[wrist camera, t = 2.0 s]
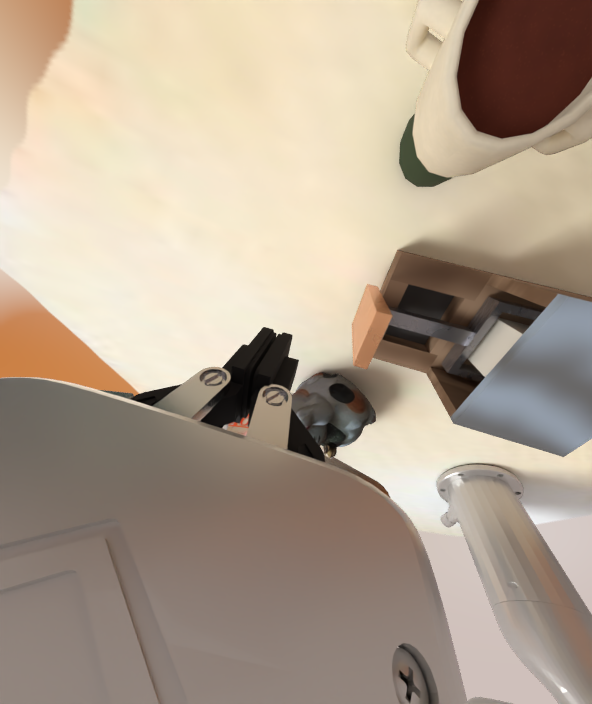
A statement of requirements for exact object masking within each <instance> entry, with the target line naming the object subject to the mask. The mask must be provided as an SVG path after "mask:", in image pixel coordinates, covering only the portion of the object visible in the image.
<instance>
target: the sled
mask: <svg viewBox="0 0 592 704" xmlns="http://www.w3.org/2000/svg"><path fill="white" fill-rule="evenodd" d="M543 311H544V310H540V309H536V308H532V307H528V306H524V305H520V304H517V303H513V302H509V301H505V300H501V299H497V298H493V297H489V296H488V297H487V299H486V300H485V301H484V303H483V304H482V306H481V307H480V309H479V310H478V311H477V313H476V314H475V316H474V317H473V319H472V320H471V321H470V323H469V324H468V326H467V327H466V326H462V325H458V324H454V323H451V322H447V321H443V320H439V319H436V318H432V317H428V316H424V315H421V314H417V313H413V312H409V311H406V310H402V309H398V308H394V307H391V306H387V304H386V302H385V300H384V298H383V296H382V294H381V292H380V290H379V288H378V287H376V286H373V285H369V284H367V286H366V288H365V291H364V294H363V296H362V299H361V302H360V304H359V307H358V310H357V312H356V315H355V318H354V320H353V323H352V343H353V365H354V366H357V367H361V368H364V369H367V368H368V366H369V364H370V362H371V360H372V358H373V356H374V354H375V352H376V349H377V347H378V345H379V343H380V341H381V339H382V337H383V335H384V333H385V331H386V329H387V326H388V325H391V326H395V327H398V328H402V329H406V330H409V331H413V332H417V333H420V334H424V335H428V336H431V337H435V338H439V339H442V340H446V341H450V342H453V343H455V344H454V346H453V347H452V349H451V350H450V351H449V353H448V354H447V356H446V357H445V359H444V360H443V361H442V363H441V364H442V366H443V367H444V368H445V370H446V371H447V373H450V374H454V375H457V376H461V377H464V378H468V379H471V380H475V381H478V382H482V380H483V379H484V378H485V377H484V376H483V375H482V374H481V372H480V371H479V370H478V369H477V368H476V367H474V366H471V365H467V364H463V363H464V362H465V360H466V359H467V358H468V356H469V355H470V354H471V353H472V351H473V350H474V349H475V347H476V346H477V345H478V343H479V342H480V341H481V340H482V338H483V337H484V336H485V334H486V333H487V332H488V330H489V329H490V328H491V327H492V325H493V324H494V323H495V321H496V320H497V319H498V317H499V316H500V315H501V314H502V312H505V313H509V314H512V315H516V316H520V317H524V318H528V319H532V320H536V319H537V318H538V316H539V315H540V314H541V313H542V312H543Z"/></svg>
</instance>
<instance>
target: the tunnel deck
mask: <svg viewBox="0 0 592 704" xmlns="http://www.w3.org/2000/svg"><path fill="white" fill-rule="evenodd" d="M380 292H381V294H382V296H383V298H384V300H385V302H386V304H387V306H391V307H394V308H398V309H402V310H406V311H409V312H413V313H417V314H421V315H424V316H428V317H432V318H436V319H439V320H443V321H447V322H451V323H454V324H458V325H462V326H466V327H467V326H468V324H469V323H470V321H471V320H472V319H473V317H474V316H475V314H476V313H477V311H478V310H479V309H480V307H481V306H482V304H483V303H484V301H485V300H486V299H487V297H488V296H489V297H493V298H497V299H501V300H505V301H509V302H513V303H517V304H520V305H524V306H528V307H532V308H536V309H540V310H544V311H543V312H542V313H541V314H540V315H539V316H538V318H537V319H536V320H532V319H528V318H524V317H520V316H516V315H512V314H509V313H505V312H502V314H501V315H500V316H499V317H498V318H501V319H505V320H509V321H513V322H517V323H521V324H525V325H528V326H530V327H529V328H528V329H527V330H526V331H525V332H524V334H523V335H522V336H521V337H520V338H519V339H518V340H517V342H516V343H515V344H514V345H513V346H512V347H511V348H510V350H509V351H508V352H507V353H506V354H505V355H504V356H503V358H502V359H501V360H500V361H499V362H498V363H497V364H496V366H495V367H494V368H493V369H492V370H491V371H490V372H489V374H488V375H487V376H486V377H485V378H484V379H483V380H482V382H478V381H475V380H471V379H468V378H464V377H461V376H457V375H454V374H450V373H447V371H446V370H445V368H444V367H443V366H442V364H441V363H442V361H443V360H444V359H445V357H446V356H447V354H448V353H449V351H450V350H451V349H452V347H453V346H454V344H455V343H453V342H450V341H446V340H442V339H439V338H435V337H431V336H428V335H424V334H420V333H417V332H413V331H409V330H406V329H402V328H398V327H395V326H391V325H388V326H387V329H386V331H385V333H384V335H383V337H382V339H381V341H380V343H379V345H378V347H377V349H376V352H375V354H374V356H373V358H376V359H379V360H383V361H386V362H390V363H393V364H396V365H400V366H403V367H407V368H410V369H414V370H417V371H421V372H424V373H426V374H427V376H428V377H429V379H430V381H431V383H432V385H433V387H434V388H435V390H436V392H437V394H438V396H439V398H440V399H441V401H442V403H443V405H444V407H445V409H446V410H447V412H448V414H449V416H450V418H451V420H452V421H453V423H454V424H457V425H460V426H463V427H467V428H470V429H473V430H477V431H480V432H483V433H487V434H490V435H493V436H496V437H500V438H503V439H506V440H510V441H513V442H516V443H519V444H523V445H526V446H529V447H533V448H536V449H539V450H543V451H546V452H549V453H552V454H556V455H559V456H562V457H564V456H566V455H567V454H569V453H571V452H572V451H574V450H575V449H577V448H578V447H580V446H581V445H583V444H584V443H586V442H587V441H589V440H590V439H592V298H591V297H587V296H583V295H579V294H575V293H571V292H567V291H563V290H559V289H555V288H551V287H546V286H542V285H538V284H534V283H530V282H526V281H522V280H518V279H514V278H510V277H505V276H501V275H497V274H493V273H489V272H485V271H481V270H477V269H473V268H469V267H465V266H460V265H456V264H452V263H448V262H444V261H440V260H436V259H432V258H428V257H424V256H420V255H415V254H411V253H407V252H403V251H399V250H397V252H396V254H395V257H394V259H393V262H392V264H391V266H390V269H389V271H388V274H387V276H386V278H385V281H384V283H383V286H382V288H381V290H380ZM463 364H467V365H471V366H474V365H473V364H472V363H471V362H470V361H469V360H468V359H466V360H465V362H464V363H463ZM474 367H475V366H474Z"/></svg>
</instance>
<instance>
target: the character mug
mask: <svg viewBox="0 0 592 704" xmlns="http://www.w3.org/2000/svg"><path fill="white" fill-rule="evenodd" d="M429 27H430V28H431V29H432V30H433V31H435V32H436V33H437V34H439V35H440V36H441V37H443V38H444V41H443V42H441V41H440V40H439V39H437V38H436V37H435V36H433V35H432V34H431V33H429V31H428V30H429ZM406 52H407V53H408V54H409V55H410V56H411V57H412V58H413V59H414V60H415V61H417V62H418V63H419V64H421V65H422V66H423V67H425V68H426V69H427V70H429V72H428V74H427V77H426V79H425V81H424V84H423V86H422V89H421V91H420V94H419V96H418V98H417V101H416V109H415V114H414V115H413V116H412V118H411V119H410V120H409V122H408V124H407V127H406V129H405V132H404V134H403V137H402V139H401V142H400V158H399V164H400V166H401V169H402V171H403V174H404V176H405V178H406V179H407V180H408V181H410V182H411V183H413V184H414V185H416V186H417V187H434V186H436V185H438V184H440V183H442V182H444V181H447V180H449V179H451V178H452V177H456V176H463V175H469V174H474V173H476V172H479V171H481V170H483V169H485V168H487V167H489V166H492V165H494V164H496V163H498V162H500V161H502V160H505V159H507V158H509V157H511V156H513V155H515V154H518V153H520V152H522V151H524V150H526V149H528V148H530V147H533V148H534V149H536V150H537V151H538V152H540V153H543V154H545V155H550V154H555V153H558V152H561V151H563V150H566V149H569V148H571V147H574V146H576V145H579V144H582V143H584V142H586V141H588V140H589V139H591V138H592V0H463V2H462V1H461V0H418V3H417V6H416V9H415V13H414V16H413V19H412V23H411V26H410V29H409V33H408V37H407V41H406ZM563 129H564V130H563Z"/></svg>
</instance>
